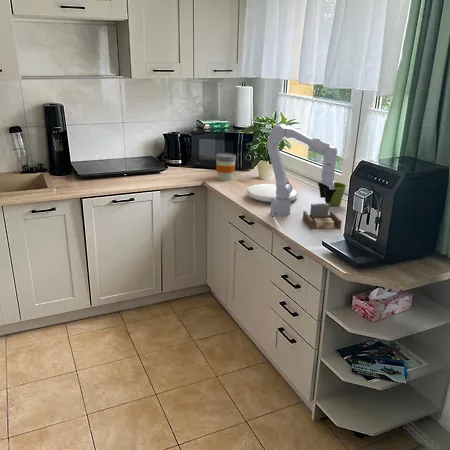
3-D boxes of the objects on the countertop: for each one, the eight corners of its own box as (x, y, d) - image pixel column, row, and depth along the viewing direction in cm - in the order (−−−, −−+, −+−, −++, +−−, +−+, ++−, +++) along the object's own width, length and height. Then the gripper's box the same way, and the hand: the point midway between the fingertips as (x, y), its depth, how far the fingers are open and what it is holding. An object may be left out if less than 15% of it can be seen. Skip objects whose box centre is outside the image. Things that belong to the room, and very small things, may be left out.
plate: (283, 181, 271) (307, 194, 248) (281, 192, 273) (305, 206, 250) (240, 180, 260) (261, 193, 237) (238, 191, 262) (259, 206, 239)
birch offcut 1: (314, 226, 214) (315, 220, 213) (313, 224, 216) (313, 218, 214) (331, 225, 214) (332, 219, 213) (330, 224, 216) (330, 218, 215)
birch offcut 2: (316, 228, 211) (316, 222, 210) (315, 226, 213) (315, 220, 212) (333, 228, 212) (334, 222, 211) (332, 226, 213) (332, 220, 212)
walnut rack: (310, 231, 210) (311, 221, 208) (302, 220, 223) (303, 210, 221) (340, 231, 211) (341, 220, 210) (331, 220, 224) (332, 210, 223)
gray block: (310, 221, 220) (312, 205, 217) (309, 219, 222) (311, 203, 219) (327, 221, 220) (329, 204, 218) (326, 219, 222) (327, 203, 219)
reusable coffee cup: (212, 180, 287) (212, 156, 282) (218, 175, 299) (219, 152, 293) (232, 182, 284) (232, 157, 279) (237, 177, 295) (238, 153, 290)
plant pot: (327, 200, 254) (330, 180, 250) (348, 205, 247) (350, 184, 243) (317, 205, 245) (319, 184, 241) (337, 210, 238) (340, 189, 234)
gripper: (341, 176, 209) (338, 204, 214) (331, 168, 223) (328, 195, 228) (326, 176, 209) (323, 204, 214) (317, 168, 222) (314, 195, 227)
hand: (325, 199), depth 221 cm, fingers open, 7 cm apart
